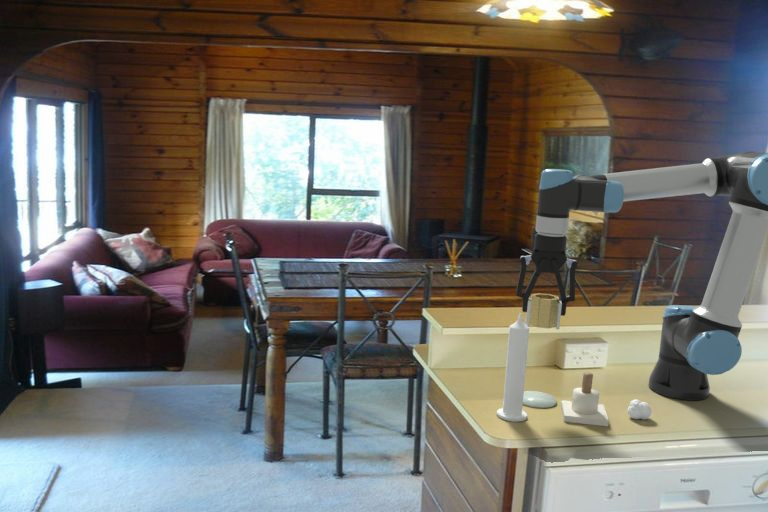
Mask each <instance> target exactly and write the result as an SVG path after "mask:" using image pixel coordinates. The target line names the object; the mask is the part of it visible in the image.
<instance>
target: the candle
mask: <svg viewBox="0 0 768 512" xmlns="http://www.w3.org/2000/svg"><path fill="white" fill-rule="evenodd" d="M508 328H509V330H508V339H507V353H506V354H507V355H506V365H505V375H504V376H505V378H504V388H503V389H504V390H503V400H502V401H503V402H502V407H500V408H498V409H497V411H496V415H497V417H498V418H499V419H502V420H504V421H506V422H507V421H508V422H512V423H513V422H515V423H517V422H524V421H526V420H527V419H528V413H527V412H526V411H525V410H523V395H524V391H525V381H526V372H527V371H526V369H527V360H528V347H529V339H530V338H529V337H530V336H529V335H530V334H529V333H530V326H529V327H528V326H527V325H526V322H524V320H523V314H522V313H521V312H520V313H518V317H517V320H516V321H515V322H514V323H512V324H510V325H509V327H508Z"/></svg>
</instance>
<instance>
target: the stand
mask: <svg viewBox="0 0 768 512" xmlns="http://www.w3.org/2000/svg"><path fill="white" fill-rule="evenodd" d="M593 378H594V374H593V373H592V372H586V371H585V372H583V373H582V384H581V387H576V388H574V389H573V390H572V400H564V399H563V400H562V399H561V403H560V407H561V413H562V419H563V422H564V423H573V424H582V425H592V426H593V425H594V426H601V427H609V423H610V422H609V421H610V420H609V416H608V414H607V411H606V407H605V404H603V403H602V404H601V403H599V401H600V392H599V391H598V390H596V389H593V388H592V387H593Z"/></svg>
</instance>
